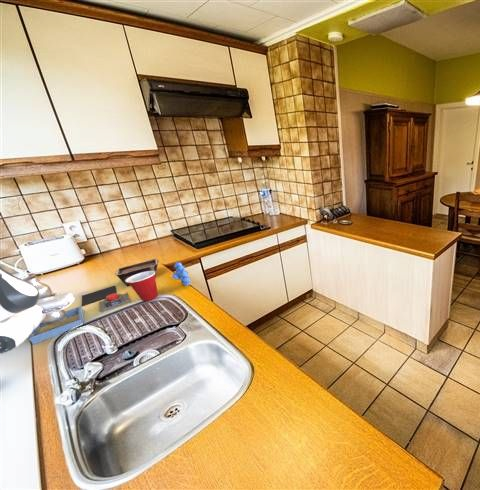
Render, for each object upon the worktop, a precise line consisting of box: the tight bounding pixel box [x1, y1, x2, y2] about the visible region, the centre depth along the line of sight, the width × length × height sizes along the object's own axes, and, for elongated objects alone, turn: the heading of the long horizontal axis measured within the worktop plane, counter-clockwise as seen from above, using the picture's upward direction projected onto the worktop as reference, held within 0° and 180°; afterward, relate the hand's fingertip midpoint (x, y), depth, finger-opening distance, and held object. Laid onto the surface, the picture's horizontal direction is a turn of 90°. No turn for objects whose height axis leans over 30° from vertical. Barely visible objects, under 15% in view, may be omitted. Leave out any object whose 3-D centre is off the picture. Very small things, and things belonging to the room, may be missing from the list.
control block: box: [98, 292, 131, 314], centre depth 119 cm, size 10×9×3 cm
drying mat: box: [81, 284, 118, 307], centre depth 126 cm, size 12×12×1 cm
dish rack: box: [28, 305, 85, 345], centre depth 106 cm, size 14×14×3 cm
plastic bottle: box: [22, 275, 67, 326], centre depth 101 cm, size 6×7×20 cm
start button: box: [106, 293, 118, 301], centre depth 118 cm, size 4×4×2 cm
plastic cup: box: [125, 271, 159, 302], centre depth 120 cm, size 11×11×12 cm
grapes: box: [171, 261, 191, 287], centre depth 129 cm, size 12×7×12 cm, turn 50°
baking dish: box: [114, 258, 159, 287], centre depth 139 cm, size 14×18×10 cm
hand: (43, 297), depth 102 cm, fingers closed on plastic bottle, 6 cm apart
